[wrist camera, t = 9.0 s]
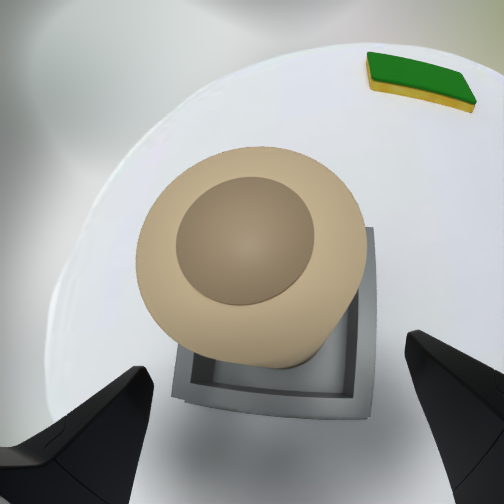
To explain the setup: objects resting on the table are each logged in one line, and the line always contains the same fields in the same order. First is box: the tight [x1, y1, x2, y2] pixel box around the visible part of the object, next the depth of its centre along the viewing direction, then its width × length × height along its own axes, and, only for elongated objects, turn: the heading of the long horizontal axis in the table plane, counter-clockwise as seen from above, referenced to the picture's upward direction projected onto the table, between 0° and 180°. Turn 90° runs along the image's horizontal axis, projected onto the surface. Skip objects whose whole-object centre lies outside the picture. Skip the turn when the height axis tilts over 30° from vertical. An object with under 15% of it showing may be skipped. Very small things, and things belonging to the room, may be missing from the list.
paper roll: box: [136, 147, 367, 369], centre depth 12 cm, size 6×6×13 cm
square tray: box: [171, 227, 377, 420], centre depth 17 cm, size 12×12×5 cm
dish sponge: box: [366, 52, 477, 113], centre depth 27 cm, size 7×14×2 cm, turn 78°
